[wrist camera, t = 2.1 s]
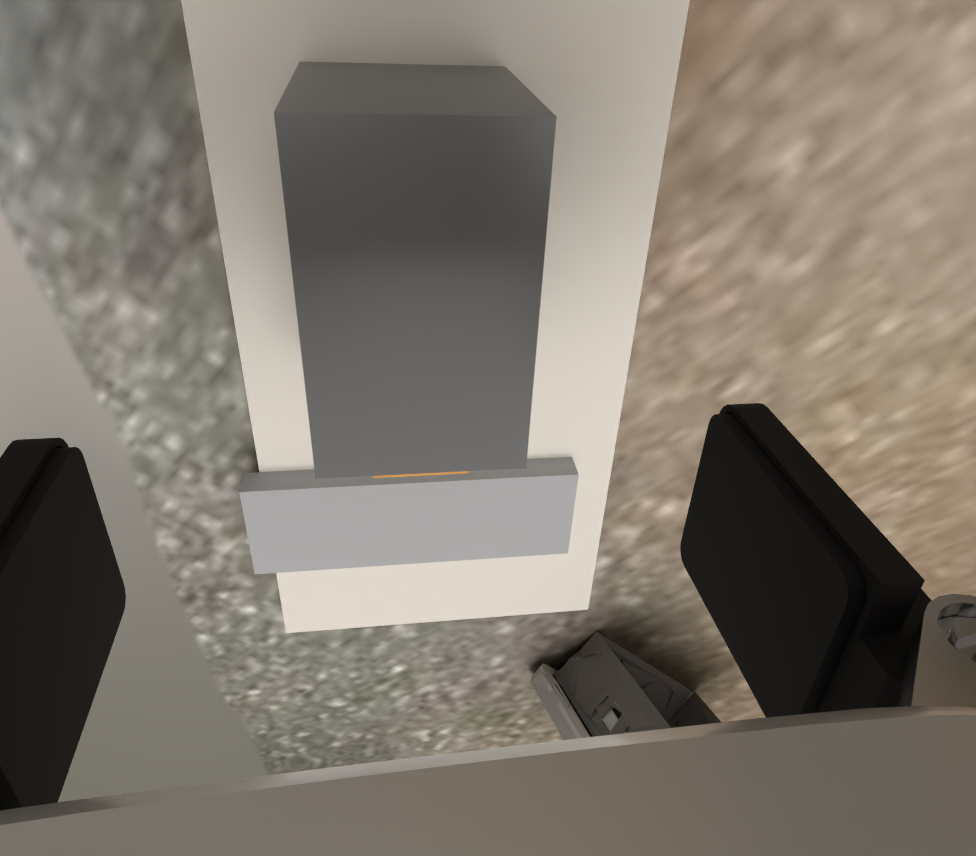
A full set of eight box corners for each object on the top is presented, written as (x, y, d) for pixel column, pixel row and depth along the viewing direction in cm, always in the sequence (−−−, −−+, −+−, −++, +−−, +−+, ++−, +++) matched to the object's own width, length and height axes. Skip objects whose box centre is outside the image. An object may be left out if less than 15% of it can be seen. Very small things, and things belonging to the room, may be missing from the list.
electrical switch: (522, 668, 34) (587, 872, 26) (603, 595, 32) (698, 786, 24) (646, 734, 38) (733, 925, 30) (721, 673, 37) (833, 856, 29)
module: (505, 66, 18) (556, 116, 13) (490, 368, 23) (524, 487, 18) (299, 61, 18) (273, 111, 13) (328, 373, 22) (317, 498, 17)
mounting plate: (676, -23, 19) (708, -18, 17) (580, 587, 31) (594, 628, 29) (162, -45, 17) (138, -42, 15) (275, 610, 29) (270, 655, 28)
